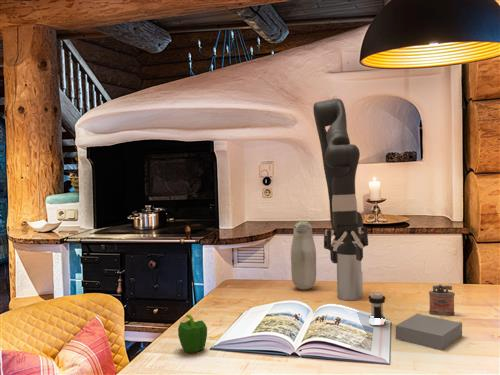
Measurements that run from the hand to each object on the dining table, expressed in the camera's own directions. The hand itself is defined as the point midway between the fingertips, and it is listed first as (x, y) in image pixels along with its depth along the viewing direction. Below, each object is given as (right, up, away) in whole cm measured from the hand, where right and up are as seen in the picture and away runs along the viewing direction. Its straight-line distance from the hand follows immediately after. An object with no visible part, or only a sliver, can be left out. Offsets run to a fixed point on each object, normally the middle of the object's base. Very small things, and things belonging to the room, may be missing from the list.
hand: (347, 261), depth 156 cm
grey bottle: (-8, -19, +51) cm, 55 cm away
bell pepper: (-46, -24, -11) cm, 53 cm away
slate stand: (+23, -21, -7) cm, 32 cm away
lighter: (+35, -20, +14) cm, 42 cm away
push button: (+11, -21, +6) cm, 25 cm away
